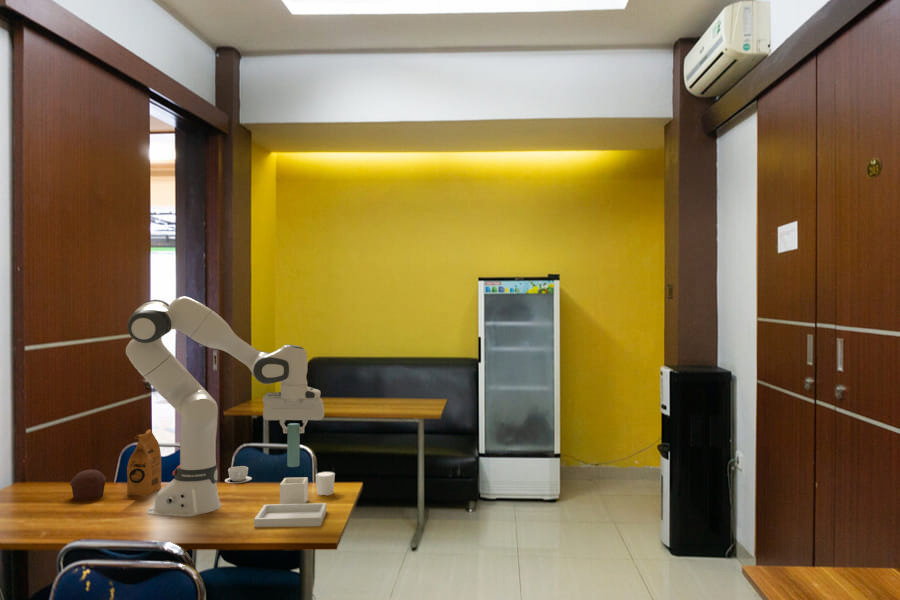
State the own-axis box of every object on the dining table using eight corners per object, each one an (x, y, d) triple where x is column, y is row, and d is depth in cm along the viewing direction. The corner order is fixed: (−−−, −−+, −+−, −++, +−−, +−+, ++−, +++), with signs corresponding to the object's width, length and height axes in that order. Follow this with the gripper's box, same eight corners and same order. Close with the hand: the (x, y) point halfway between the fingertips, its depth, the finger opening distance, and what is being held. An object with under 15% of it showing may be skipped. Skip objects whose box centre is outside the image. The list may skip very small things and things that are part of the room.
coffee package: (121, 498, 223) (121, 436, 223) (138, 488, 236) (138, 429, 236) (150, 498, 223) (149, 436, 223) (165, 488, 236) (165, 428, 236)
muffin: (100, 503, 218) (100, 474, 218) (64, 506, 215) (64, 476, 215) (110, 493, 230) (110, 465, 230) (76, 495, 227) (76, 467, 227)
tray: (254, 529, 193) (254, 519, 193) (264, 513, 207) (264, 504, 207) (320, 527, 194) (320, 517, 194) (326, 512, 208) (326, 503, 208)
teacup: (224, 478, 249) (224, 466, 249) (250, 476, 252) (250, 464, 252) (225, 485, 239) (225, 473, 239) (252, 482, 243) (252, 470, 243)
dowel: (286, 467, 214) (286, 425, 214) (288, 464, 218) (288, 423, 218) (298, 467, 214) (298, 425, 215) (300, 464, 218) (300, 423, 219)
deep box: (279, 508, 212) (279, 484, 212) (284, 500, 220) (284, 477, 220) (304, 507, 213) (304, 484, 213) (307, 500, 221) (307, 477, 221)
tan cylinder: (330, 496, 225) (330, 476, 225) (312, 495, 226) (312, 475, 226) (337, 490, 232) (337, 471, 232) (320, 489, 233) (320, 470, 233)
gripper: (260, 393, 213) (260, 434, 213) (322, 393, 214) (322, 434, 214) (265, 391, 219) (264, 431, 219) (325, 390, 220) (324, 430, 220)
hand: (293, 432), depth 216 cm, fingers closed on dowel, 4 cm apart
